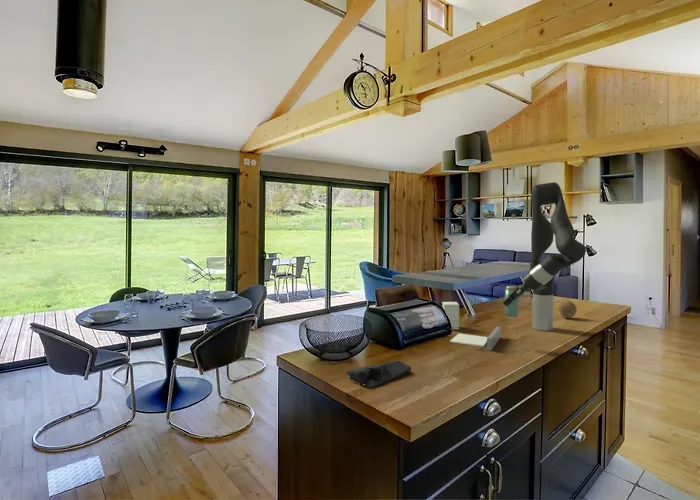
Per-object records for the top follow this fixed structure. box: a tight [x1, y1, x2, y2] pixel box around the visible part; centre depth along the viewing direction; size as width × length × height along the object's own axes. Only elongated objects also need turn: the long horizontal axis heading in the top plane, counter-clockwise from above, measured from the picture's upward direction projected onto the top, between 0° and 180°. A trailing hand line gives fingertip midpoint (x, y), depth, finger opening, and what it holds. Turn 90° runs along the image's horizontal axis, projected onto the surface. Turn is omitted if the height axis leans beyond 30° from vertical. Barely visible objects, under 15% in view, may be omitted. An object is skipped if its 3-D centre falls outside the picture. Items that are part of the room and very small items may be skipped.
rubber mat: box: [449, 333, 488, 348], centre depth 171 cm, size 14×14×1 cm
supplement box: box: [441, 301, 460, 330], centre depth 194 cm, size 7×7×13 cm
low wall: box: [486, 326, 502, 352], centre depth 166 cm, size 22×2×5 cm, turn 149°
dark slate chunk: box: [345, 360, 412, 389], centre depth 131 cm, size 15×22×5 cm
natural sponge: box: [557, 299, 578, 319], centre depth 212 cm, size 9×9×10 cm
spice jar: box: [504, 285, 520, 318], centre depth 162 cm, size 5×5×12 cm
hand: (507, 303), depth 163 cm, fingers closed on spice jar, 5 cm apart
